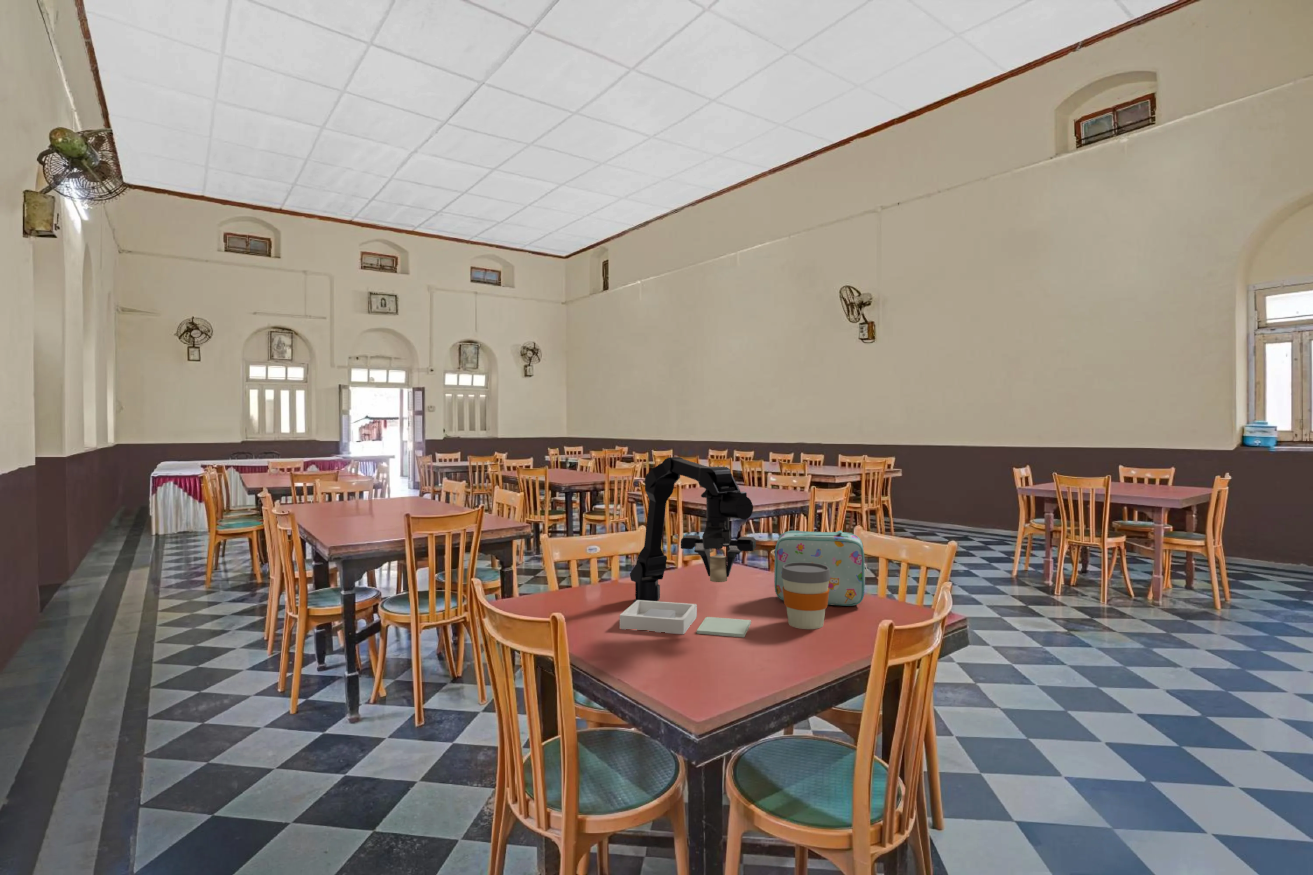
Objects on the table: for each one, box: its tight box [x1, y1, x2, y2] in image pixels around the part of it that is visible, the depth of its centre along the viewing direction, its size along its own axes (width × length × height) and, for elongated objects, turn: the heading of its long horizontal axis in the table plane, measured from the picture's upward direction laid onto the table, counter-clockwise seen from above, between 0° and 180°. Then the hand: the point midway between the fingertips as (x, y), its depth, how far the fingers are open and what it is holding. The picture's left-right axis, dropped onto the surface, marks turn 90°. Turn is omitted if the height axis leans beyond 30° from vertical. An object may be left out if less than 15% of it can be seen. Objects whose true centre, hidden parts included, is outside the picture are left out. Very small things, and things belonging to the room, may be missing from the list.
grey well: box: [619, 600, 698, 635], centre depth 176 cm, size 17×15×4 cm
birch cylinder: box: [709, 555, 728, 583], centre depth 171 cm, size 4×4×6 cm
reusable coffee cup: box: [781, 562, 830, 630], centre depth 174 cm, size 13×13×15 cm
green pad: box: [696, 616, 752, 638], centre depth 171 cm, size 12×12×1 cm
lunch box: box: [773, 530, 869, 607], centre depth 195 cm, size 27×10×21 cm, turn 74°
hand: (718, 576), depth 171 cm, fingers closed on birch cylinder, 4 cm apart
